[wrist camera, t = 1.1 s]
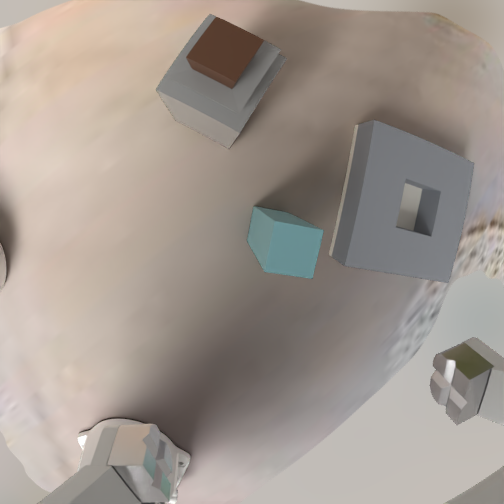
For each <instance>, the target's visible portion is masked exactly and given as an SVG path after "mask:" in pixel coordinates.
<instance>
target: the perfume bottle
mask: <svg viewBox="0 0 504 504" xmlns="http://www.w3.org/2000/svg"><path fill="white" fill-rule="evenodd" d="M280 51H281V49H279V48H277V47H276V46H274V45H272V44H270V43H268V42H266V41H265V40H263V39H261V38H259V37H257V36H255V35H253V34H251V33H249V32H247V31H245V30H243V29H241V28H239V27H237V26H235V25H233V24H231V23H229V22H227V21H225V20H223V19H220V18H218V17H216V16H214V15H211V14H209V16H208V17H207V18H206V19H205V20H204V21H203V23H202V24H201V25H200V27H199V28H198V29H197V31H196V32H195V33H194V35H193V36H192V37H191V39H190V40H189V41H188V43H187V44H186V45H185V47H184V48H183V50H182V51H181V52H180V54H179V55H178V57H177V58H176V60H175V61H174V62H173V64H172V65H171V67H170V68H169V70H168V71H167V73H166V74H165V76H164V77H163V79H162V80H161V82H160V84H159V85H158V87H157V88H156V91H157V92H158V94H159V96H160V97H161V99H162V100H163V102H164V103H165V105H166V107H167V108H168V110H169V111H170V113H171V114H172V116H173V118H174V119H175V121H177V122H179V123H181V124H183V125H185V126H187V127H189V128H191V129H193V130H195V131H197V132H198V133H200V134H202V135H204V136H206V137H208V138H210V139H211V140H213V141H215V142H217V143H219V144H221V145H223V146H224V147H226V148H228V149H229V148H230V146H231V145H232V144H233V142H234V141H235V139H236V138H237V137H238V135H239V134H240V132H241V131H242V129H243V127H244V126H245V124H246V122H247V121H248V119H249V117H250V116H251V114H252V113H253V111H254V109H255V108H256V106H257V105H258V103H259V101H260V100H261V98H262V97H263V95H264V93H265V92H266V90H267V89H268V87H269V86H270V84H271V82H272V81H273V79H274V78H275V76H276V75H277V73H278V72H279V70H280V69H281V67H282V66H283V64H284V63H285V61H286V60H287V58H285V57H284V56H282V55H280V54H279V52H280Z"/></svg>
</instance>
